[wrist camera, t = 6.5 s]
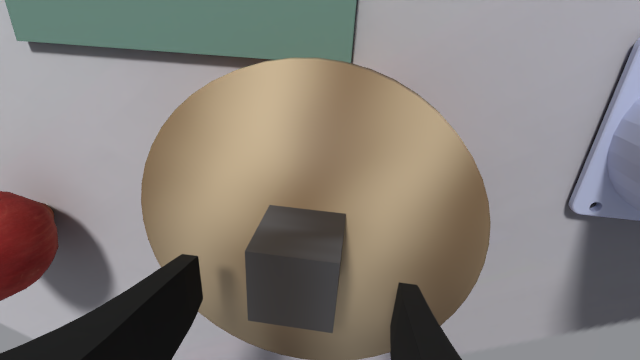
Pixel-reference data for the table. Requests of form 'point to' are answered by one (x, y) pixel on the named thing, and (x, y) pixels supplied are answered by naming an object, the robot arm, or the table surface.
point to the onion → (24, 242)
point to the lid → (315, 205)
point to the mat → (194, 26)
